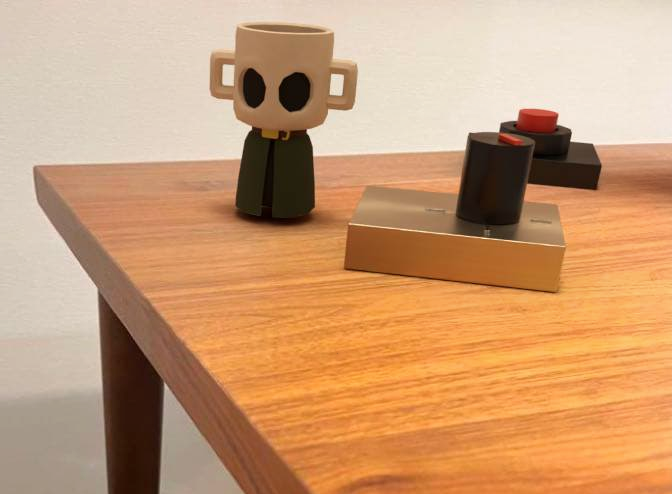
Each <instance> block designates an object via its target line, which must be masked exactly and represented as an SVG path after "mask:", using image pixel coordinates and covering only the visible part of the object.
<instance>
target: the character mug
mask: <svg viewBox="0 0 672 494" xmlns="http://www.w3.org/2000/svg"><path fill="white" fill-rule="evenodd" d="M234 37H235V41H234V44H235V45H234V47H235V48H234V49H222V48H217V49H214V50H211V53H210V57H209V91H210V96H211V97H212V98H215V99H218V100H228V101H232V103H233V105H232V106H233V107H232V109H233V112H234V115H235V118H236V120H237V121H239V122H241V123H243V124H245V125H247V126H250V127H251V130H249V131H248V132H247V135H246V136H245V139H244V141H243V148H242V152H241V159H240V165H239V171H238V177H237V185H236V194H235V203H234V207H235V208H237V209H238V210H240V211H241V212H243V213H246V214H249V215H254V216H260V217H261V216H262V208H267V209H272V210H271V211H272V212H271V217H272V218H275V219H276V218H277V219H279V218H280V219H281V218H283V219H284V218H285V219H286V218H288V219H289V218H298V217H303V216H307V215H309V214H310V213H311V212H312V211H313V210H314V209H315V208H316V184H315V181H316V180H315V165H314V163H315V162H314V145H313V142H312V140H311V137H310V135H309V134H308V130H312V129H315V128H317V127H319V126H323V125H324V123H325V121H326V119H327V117H328V115H329V110H333V111H334V110H335V111H343V112H344V111H345V112H346V111H349V110H353V108H354V106H355V103H356V96H357V95H356V94H357V85H358V75H359V69H358V64H357V62H355V61H353V60H349V59H339V58H333V57H334V56H333V55H334V47H335V31H334V29H331V28H328V27H324V26H319V25H313V24H306V23H299V22H298V23H297V22H282V21H281V22H280V21H251V22H249V21H248V22H242V23H238V24H236V30H235V36H234ZM225 65H227V66H233V67H234V69H233V85H229V84H228V85H227V84H223V77H224V76H223V73H224V66H225ZM332 75H340V76H343V80H342V81H343V82H342V83H343V84H342V92H341V93H342V94H341V95H337V94H330V93H331V81H332Z"/></svg>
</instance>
